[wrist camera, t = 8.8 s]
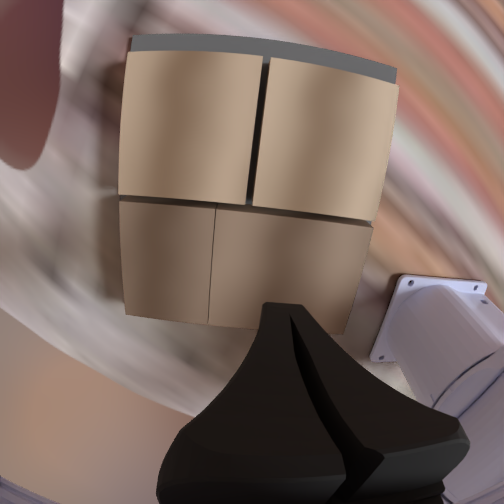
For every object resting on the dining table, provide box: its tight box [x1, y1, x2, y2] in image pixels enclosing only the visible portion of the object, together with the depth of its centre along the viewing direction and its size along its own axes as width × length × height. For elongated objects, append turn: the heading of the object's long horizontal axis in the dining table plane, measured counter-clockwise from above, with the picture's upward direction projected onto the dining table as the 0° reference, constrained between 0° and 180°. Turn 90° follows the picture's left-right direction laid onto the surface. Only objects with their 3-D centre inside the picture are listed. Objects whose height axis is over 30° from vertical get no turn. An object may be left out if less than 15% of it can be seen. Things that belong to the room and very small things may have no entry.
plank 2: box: [252, 57, 399, 221], centre depth 17 cm, size 7×8×2 cm
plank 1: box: [118, 51, 263, 205], centre depth 16 cm, size 7×8×2 cm
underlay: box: [120, 34, 397, 225], centre depth 19 cm, size 16×18×1 cm
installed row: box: [119, 195, 374, 334], centre depth 20 cm, size 15×8×2 cm, turn 83°
